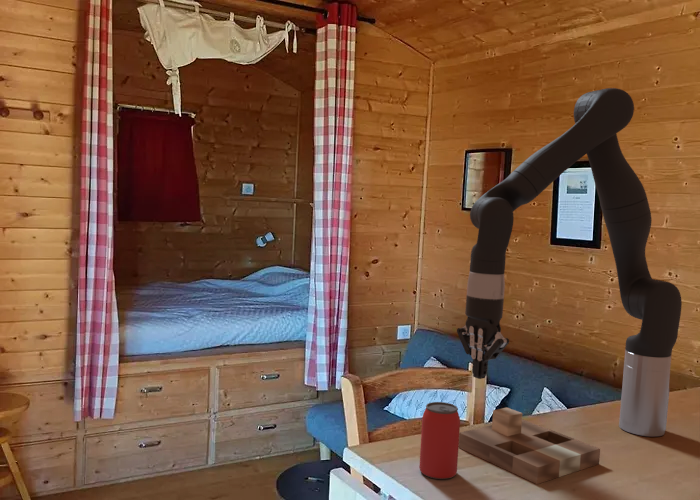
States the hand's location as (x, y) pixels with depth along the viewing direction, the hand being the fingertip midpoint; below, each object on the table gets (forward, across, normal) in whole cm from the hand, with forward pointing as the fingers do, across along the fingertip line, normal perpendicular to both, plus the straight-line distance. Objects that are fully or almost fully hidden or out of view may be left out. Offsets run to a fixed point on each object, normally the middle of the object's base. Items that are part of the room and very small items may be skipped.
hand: (479, 377), depth 138 cm
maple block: (+9, -8, 0) cm, 12 cm away
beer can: (+12, -11, +21) cm, 26 cm away
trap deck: (+12, -14, 0) cm, 18 cm away
